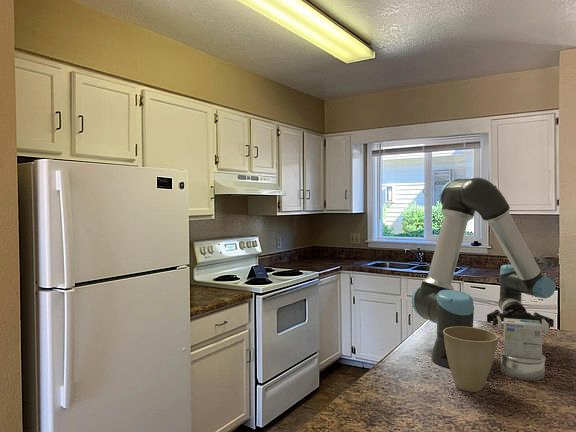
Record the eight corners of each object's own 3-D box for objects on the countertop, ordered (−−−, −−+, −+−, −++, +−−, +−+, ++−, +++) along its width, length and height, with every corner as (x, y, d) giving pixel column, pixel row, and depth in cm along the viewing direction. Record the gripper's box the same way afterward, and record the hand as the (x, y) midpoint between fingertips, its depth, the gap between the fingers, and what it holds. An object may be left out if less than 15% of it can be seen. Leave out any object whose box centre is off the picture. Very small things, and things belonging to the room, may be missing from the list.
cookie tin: (512, 381, 136) (512, 362, 136) (492, 365, 149) (492, 348, 149) (554, 381, 136) (555, 361, 136) (530, 365, 149) (531, 347, 149)
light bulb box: (539, 353, 144) (540, 320, 143) (542, 360, 137) (543, 325, 137) (502, 349, 148) (503, 316, 147) (504, 355, 141) (504, 322, 141)
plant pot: (464, 400, 123) (464, 343, 122) (432, 379, 137) (433, 328, 136) (509, 394, 126) (510, 338, 126) (474, 374, 141) (474, 324, 140)
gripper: (552, 324, 160) (567, 342, 140) (477, 318, 168) (481, 334, 148) (552, 303, 159) (568, 318, 139) (477, 298, 168) (481, 312, 148)
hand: (523, 326), depth 144 cm, fingers open, 13 cm apart
